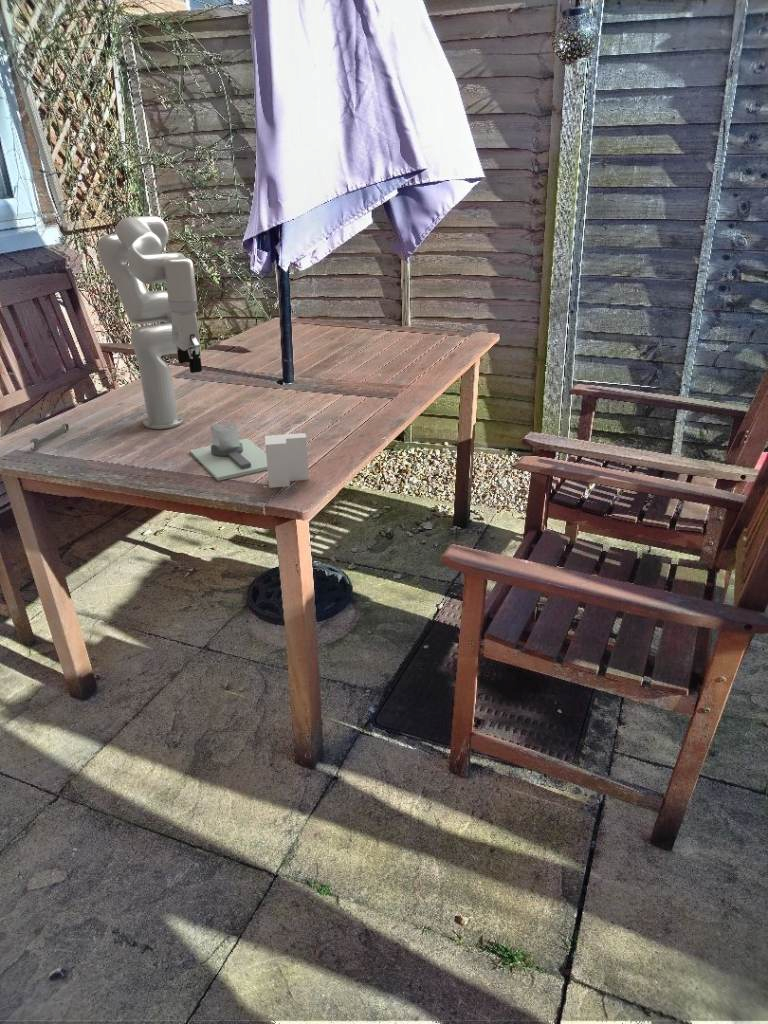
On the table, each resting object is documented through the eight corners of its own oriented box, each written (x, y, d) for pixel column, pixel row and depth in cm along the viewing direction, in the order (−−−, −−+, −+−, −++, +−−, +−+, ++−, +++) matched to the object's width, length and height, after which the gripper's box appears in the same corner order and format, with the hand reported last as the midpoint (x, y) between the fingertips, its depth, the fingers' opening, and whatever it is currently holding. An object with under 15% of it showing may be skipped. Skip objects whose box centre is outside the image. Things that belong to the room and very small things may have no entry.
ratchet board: (190, 453, 207) (187, 433, 204) (247, 441, 215) (245, 422, 213) (217, 481, 189) (215, 459, 186) (279, 467, 197) (278, 446, 194)
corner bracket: (269, 487, 184) (265, 444, 179) (267, 471, 194) (264, 429, 189) (310, 484, 186) (307, 441, 181) (306, 468, 196) (303, 427, 191)
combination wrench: (64, 420, 225) (26, 440, 207) (68, 420, 225) (30, 441, 207) (67, 431, 227) (28, 452, 209) (70, 432, 227) (32, 453, 209)
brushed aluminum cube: (213, 444, 206) (210, 425, 203) (232, 441, 208) (230, 421, 206) (220, 451, 201) (217, 431, 198) (240, 447, 204) (237, 427, 201)
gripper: (159, 301, 196) (167, 361, 204) (180, 314, 183) (187, 377, 191) (186, 298, 199) (192, 357, 208) (207, 310, 187) (213, 373, 195)
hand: (190, 367), depth 199 cm, fingers open, 9 cm apart
